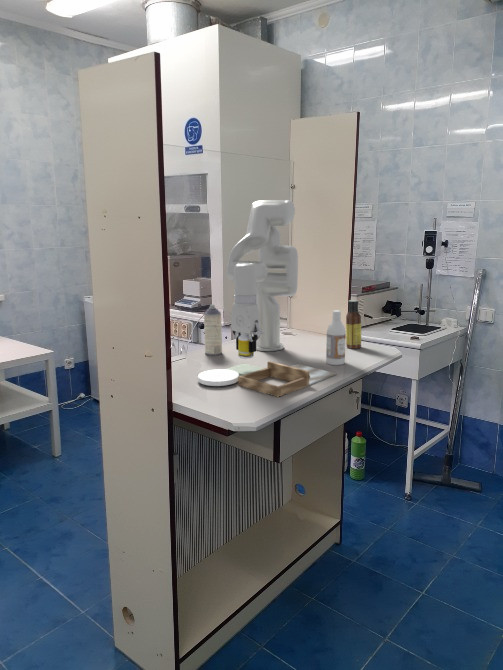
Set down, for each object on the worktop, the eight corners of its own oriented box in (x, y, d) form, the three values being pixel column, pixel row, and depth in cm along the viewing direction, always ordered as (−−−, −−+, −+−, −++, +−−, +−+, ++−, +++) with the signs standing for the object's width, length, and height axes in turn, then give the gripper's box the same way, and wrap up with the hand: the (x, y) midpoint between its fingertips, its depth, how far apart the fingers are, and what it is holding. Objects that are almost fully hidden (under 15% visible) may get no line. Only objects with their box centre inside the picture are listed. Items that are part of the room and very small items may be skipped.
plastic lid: (228, 373, 192) (228, 366, 192) (246, 384, 180) (246, 377, 180) (191, 379, 186) (191, 372, 186) (207, 391, 174) (207, 384, 173)
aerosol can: (225, 352, 220) (223, 303, 215) (216, 356, 214) (215, 306, 209) (210, 350, 223) (209, 302, 218) (202, 354, 217) (200, 305, 212)
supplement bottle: (252, 359, 187) (252, 331, 185) (237, 358, 188) (236, 331, 186) (255, 355, 192) (254, 328, 190) (240, 354, 193) (239, 327, 191)
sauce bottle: (362, 346, 227) (363, 299, 222) (360, 349, 221) (361, 302, 216) (346, 345, 229) (347, 298, 224) (344, 348, 223) (345, 301, 218)
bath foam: (334, 366, 198) (336, 313, 193) (322, 362, 204) (323, 310, 199) (348, 363, 202) (350, 311, 197) (336, 359, 207) (337, 308, 203)
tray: (224, 373, 192) (224, 369, 192) (244, 367, 199) (244, 363, 199) (248, 380, 184) (248, 375, 184) (268, 373, 191) (268, 369, 191)
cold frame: (238, 385, 179) (238, 370, 178) (297, 365, 200) (297, 352, 199) (278, 397, 167) (278, 382, 166) (336, 374, 188) (336, 361, 187)
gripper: (220, 298, 189) (221, 348, 193) (256, 303, 177) (256, 357, 181) (235, 295, 194) (236, 344, 198) (271, 300, 182) (271, 352, 186)
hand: (246, 350), depth 189 cm, fingers closed on supplement bottle, 5 cm apart
